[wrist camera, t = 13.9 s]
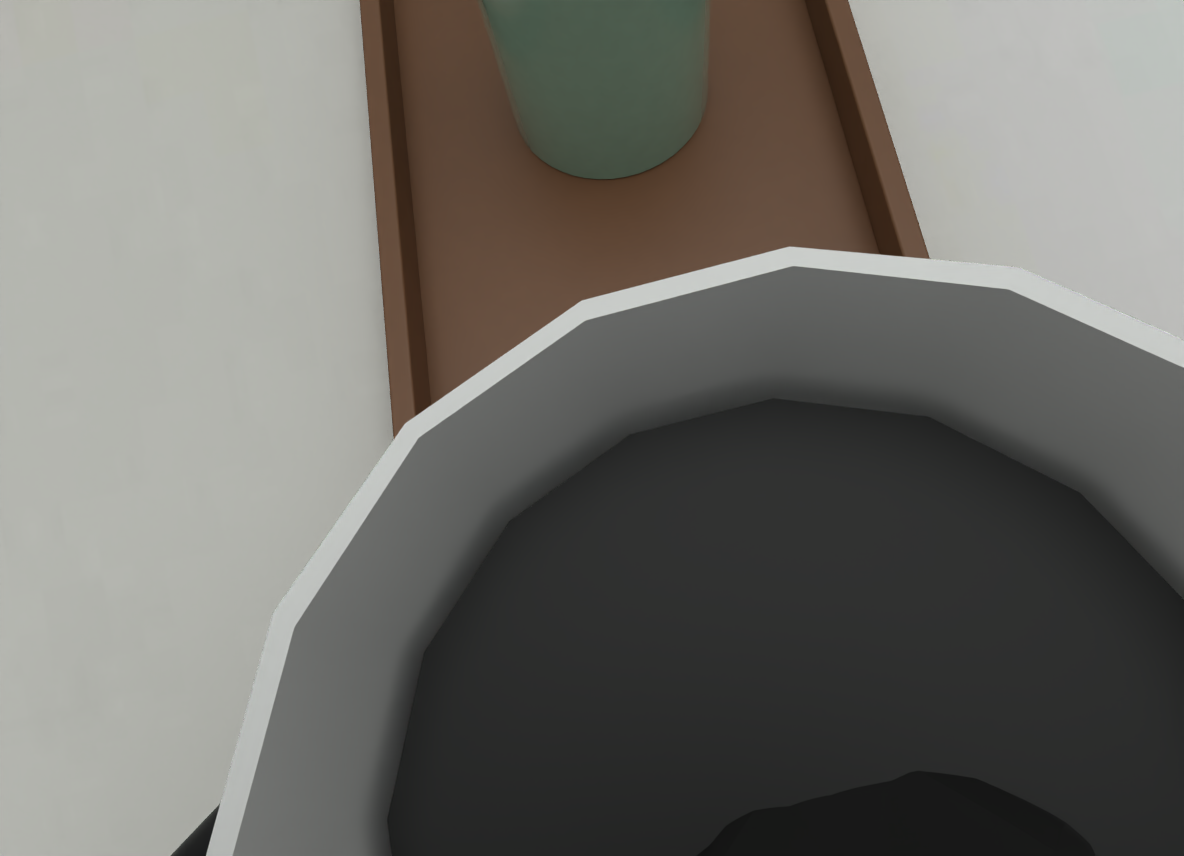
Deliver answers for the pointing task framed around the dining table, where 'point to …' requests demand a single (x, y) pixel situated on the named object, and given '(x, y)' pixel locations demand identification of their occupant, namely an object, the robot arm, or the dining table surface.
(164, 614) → the dining table surface
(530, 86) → the green rounded shape
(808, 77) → the tray
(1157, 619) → the white paper cup
